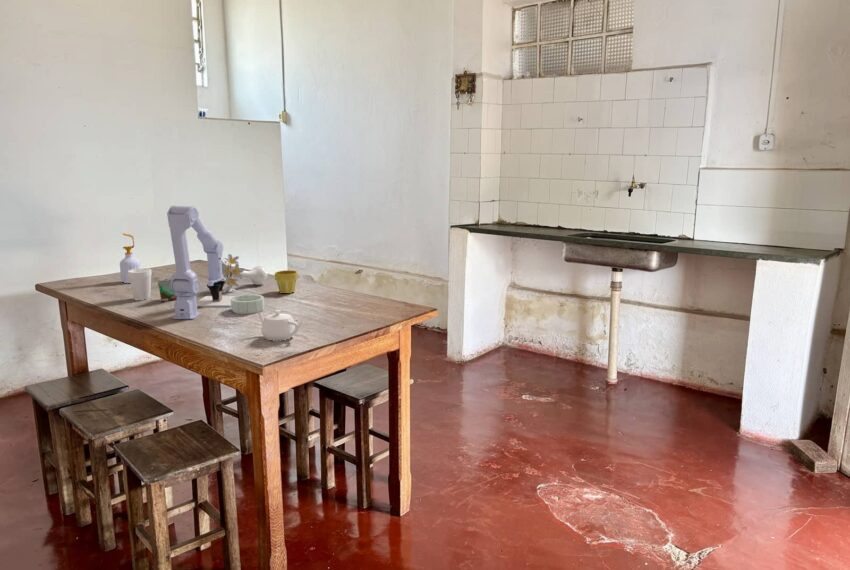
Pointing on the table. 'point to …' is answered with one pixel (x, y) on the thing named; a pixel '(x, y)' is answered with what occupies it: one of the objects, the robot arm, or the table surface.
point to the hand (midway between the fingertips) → (217, 298)
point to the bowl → (247, 304)
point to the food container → (166, 291)
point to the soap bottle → (128, 263)
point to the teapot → (278, 326)
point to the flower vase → (241, 273)
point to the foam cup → (140, 283)
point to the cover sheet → (215, 301)
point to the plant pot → (286, 280)
